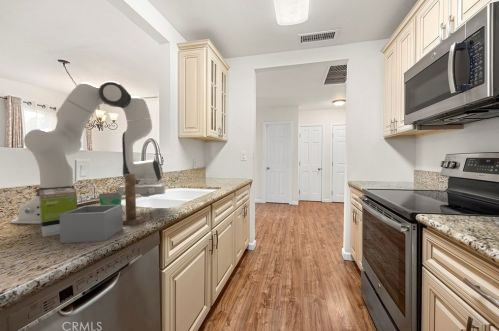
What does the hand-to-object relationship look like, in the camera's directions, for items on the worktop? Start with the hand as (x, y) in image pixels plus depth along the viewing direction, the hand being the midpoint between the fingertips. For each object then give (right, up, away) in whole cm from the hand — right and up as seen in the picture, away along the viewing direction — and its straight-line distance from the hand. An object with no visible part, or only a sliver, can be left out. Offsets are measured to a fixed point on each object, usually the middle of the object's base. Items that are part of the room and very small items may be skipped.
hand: (136, 191), depth 97 cm
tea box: (-22, -13, -14) cm, 29 cm away
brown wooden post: (+1, -12, -7) cm, 14 cm away
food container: (-18, -12, +13) cm, 25 cm away
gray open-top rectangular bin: (-4, -13, -20) cm, 24 cm away
